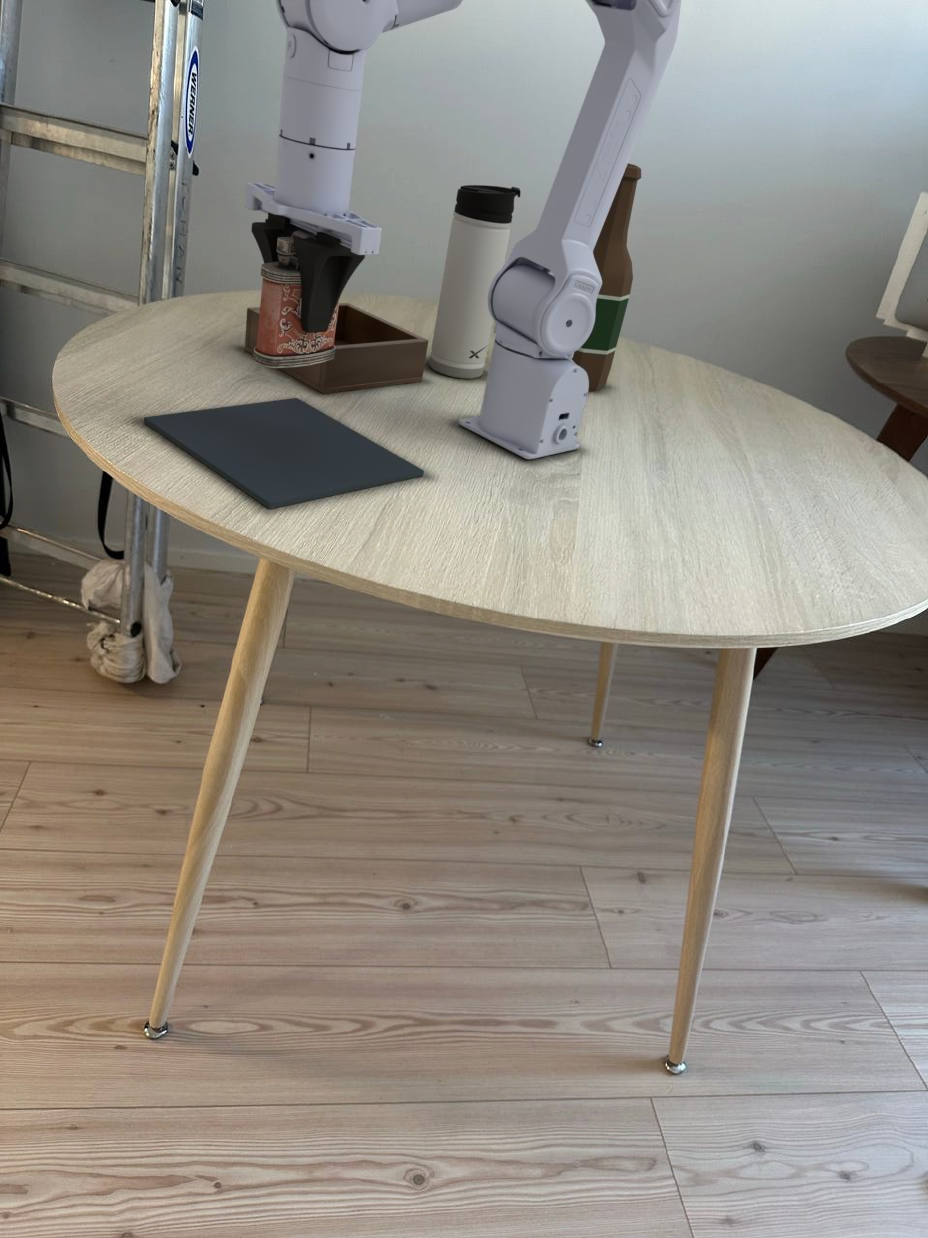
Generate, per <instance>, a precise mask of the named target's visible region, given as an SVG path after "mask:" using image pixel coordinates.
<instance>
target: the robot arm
mask: <svg viewBox="0 0 928 1238" xmlns="http://www.w3.org/2000/svg"><path fill="white" fill-rule="evenodd" d="M463 1H464V0H275V5H276V9H277V13H278V15H279V18H280V20H281V22H282V23H283V26H284V28H285V30H286V40H285V51H284V52H285V53H284V54H285V55H284V64H283V72H282V85H281V97H280V111H279V121H278V122H279V123H278V125H279V126H278V138H277V151H276V164H275V165H276V167H275V177H274V179H275V180H274V185H272V184H269V183H265V182H246V183H245V185H246V187H245V198H244V199H245V200H244V201H245V202H244V208H246V209H248V210H251V211H259V212H263V213H264V214H267V218H265V219H264V221H254V222H252V223H251V230H250V231H251V233H252V236H253V237H254V240H255V242H256V244H257V246H258V250H259V252H260V254H261V257H262V261H263V264H264V263H271V262H278V261H279V259H278V252H277V241H278V238H279V237H291V236H292V234H293V232H295V231H302V232H304V233H307V234H309V235H312V236H313V234H317V236H316V239H296V238H294V242H293V245H294V247H295V251H296V254H297V258H298V263H299V268H300V276H301V288H302V294H301V324H302V330H303V331H305V332H307V333H316V332H327V329H328V327H329V324H330V321H331V319H332V316H333V313H334V311H335V308H336V305H337V303H338V300H339V298H341V296H342V294H343V292H344V289H345V287H346V285H348V282H349V280H350V279H351V277H352V276H353V274H354V273H355V271H356V270H357V268H358V267H359V266H360V264H362V262H363V261H364V260H365V258H366V256H379V254H380V247H381V240H382V232H383V228H382V227H380V226H377V225H375V224H373V223H371V222H370V221H368V220H366V219H365V218H363V217H361V216H360V215H359V214H358V213H355V212H354V211H353V210H351V209H349V208H350V200H351V192H352V183H353V175H354V173H353V172H354V165H355V157H356V146H357V137H358V131H359V130H358V129H359V121H360V113H361V112H360V110H361V104H362V95H363V85H364V74H365V66H366V65H365V64H366V57H367V50H368V49H369V48H371V47H372V46H373V45H374V44H376V42H377V41H378V40H379V38H380V36H381V35H382V34H385V33H387V32H390V31H393V30H396V29H400V28H402V27H404V26H407V25H408V26H409V25H411V24H414V23H417V22H420V21H423V20H426V19H428V18H429V19H430V18H431V17H435V16H438V15H441V14H444V13H447V12H450V11H453V10H456V9H458V7H460V5H461V4H462V2H463ZM584 1H585V2H586V4H587V5H588V6H589V8H590V9H591V11H592V13H593V14H594V15H595V17H596V19H597V22H598V25H599V27H600V30H601V33H602V36H603V39H604V45H603V48H602V50H601V53H600V56H599V59H598V62H597V64H596V67H595V69H594V72H593V75H592V78H591V81H590V84H589V86H588V88H587V91H586V93H585V97H584V99H583V101H582V104H581V108H580V110H579V112H578V115H577V118H576V121H575V124H574V126H573V129H572V132H571V134H570V138H569V140H568V142H567V146H566V148H565V151H564V153H563V156H562V158H561V161H560V164H559V166H558V170H557V172H556V174H555V178H554V180H553V182H552V186H551V189H550V191H549V193H548V197H547V199H546V202H545V205H544V206H543V210H542V212H541V215H540V218H539V219H538V223H537V226H536V228H535V229H534V230H533V231H532V232H531V233H529V234H527V235H526V236H524V237H523V238H521V239H520V240H519V241H517V242H516V243H515V244H513V247H512V250H511V252H510V254H509V257H508V259H507V260H506V262H505V263H504V266H503V268H502V269H501V270H500V271H499V272H498V273H497V274H496V276H495V277H494V279H493V281H492V283H491V285H490V288H489V292H488V299H487V301H488V309H489V312H490V314H491V316H492V318H493V321H495V322H494V326H493V327H494V328H493V333H494V334H495V335H494V341H493V346H492V351H491V356H490V360H489V361H490V362H489V367H488V372H487V377H486V382H485V387H484V392H483V398H482V404H481V408H480V412H479V415H478V416H477V415H476V416H472V417H465V418H460V419H459V422H458V423H459V425H460V426H462V427H464V428H465V429H467V430H470V431H471V432H473V433H475V434H477V435H479V436H481V437H483V438H485V439H487V440H488V441H491V442H493V443H494V444H496V445H498V446H500V447H502V448H504V449H506V450H508V451H509V452H511V453H514V454H515V455H518V456H519V457H521V458H523V459H526V460H534V459H538V458H542V457H543V458H544V457H548V456H551V455H556V454H557V455H558V454H561V453H566V452H570V451H574V450H578V449H579V448H580V443H578V442H577V438H578V435H579V430H580V428H581V427H580V426H581V424H582V423H581V422H582V419H583V415H584V411H585V407H586V402H587V399H588V395H589V394H588V393H589V391H588V390H589V379H588V375H587V373H586V371H585V370H584V369H583V368H581V367H580V366H578V365H577V364H575V363H574V361H573V360H572V359H571V358H573V355H574V352H575V351H577V350H578V349H579V348H580V347H581V346H582V345H583V344H584V343H585V342H586V340H587V339H588V337H589V336H590V334H591V332H592V329H593V326H594V323H595V314H596V300H597V296H598V293H599V291H600V288H601V286H602V279H601V276H600V273H599V270H598V267H597V264H596V261H595V259H594V255H593V250H594V247H595V245H596V242H597V240H598V237H599V235H600V232H601V230H602V227H603V225H604V222H605V220H606V217H607V215H608V212H609V209H610V207H611V204H612V202H613V199H614V197H615V194H616V192H617V189H618V187H619V184H620V182H621V179H622V177H623V174H624V172H625V169H626V167H627V164H629V161H630V159H631V156H632V154H633V151H634V149H635V146H636V143H637V142H638V139H639V136H640V134H641V131H642V130H643V126H644V124H645V121H646V119H647V116H648V114H649V111H650V108H651V106H652V104H653V101H654V98H655V96H656V93H657V91H658V89H659V86H660V83H661V81H662V78H663V76H664V74H665V72H666V68H667V66H668V63H669V60H670V59H671V56H672V53H673V50H674V49H675V44H676V42H677V38H678V30H679V24H680V22H679V21H680V14H681V5H682V0H584ZM551 273H552V274H553V275H552V274H551ZM339 301H340V300H339Z"/></svg>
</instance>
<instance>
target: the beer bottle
mask: <svg viewBox="0 0 928 1238" xmlns="http://www.w3.org/2000/svg"><path fill="white" fill-rule="evenodd" d="M641 179H642V168H641V167H640V166H638V165H635V164H632V163H628V164H627V167H626V169H625V172H624V174H623V177H622V179H621V182H620V184H619V187H618V189H617V192H616V194H615V197H614V199H613V202H612V204H611V207H610V209H609V212H608V215H607V217H606V220H605V222H604V225H603V227H602V230H601V232H600V235H599V237H598V240H597V242H596V245H595V247H594V250H593V255H594V259H595V261H596V264H597V267H598V270H599V273H600V276H601V279H602V286H601V288H600V291H599V293H598V296H597V300H596V314H595V323H594V326H593V329H592V332H591V334H590V336H589V337H588V339H587V340H586V342H585V343H584V344H583V345H582V346H581V347H580V348H579V349H578V350H577V351H575V352H574V355H573V358H571V359H572V360H573V361H574V363H575V364H577V365H578V366H580V367H581V368H583V369H584V370H585V371H586V373H587V375H588V379H589V390H588V392H596V391H599V390H601V389H602V388H604V387H605V386H606V384H607V382H608V378H609V376H610V372H611V369H612V365H613V362H614V358H615V354H616V350H617V345H618V342H619V338H620V334H621V331H622V326H623V323H624V319H625V315H626V312H627V308H628V303H629V299H630V296H631V291H632V286H633V280H634V274H633V273H634V272H633V261H632V259H631V256H630V253H629V249H628V233H629V227H630V222H631V217H632V211H633V206H634V201H635V196H636V190H637V184H638V181H639V180H641Z"/></svg>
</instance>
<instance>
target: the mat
mask: <svg viewBox="0 0 928 1238" xmlns="http://www.w3.org/2000/svg"><path fill="white" fill-rule="evenodd" d="M143 423H144V424H146V425H147V426H148V427H150V428H151V429H153V430H154V431H155V432H156V433H158V434H160V435H161V436H163V437H164V438H165V439H167V440H169V441H170V442H171V443H173V444H174V445H176V446H178V447H179V448H180V449H182V450H183V451H185V452H186V453H187V454H189V455H190V456H191V457H193V458H195V459H196V460H198V461H199V462H201V463H202V464H204V465H205V466H206V467H207V468H209V469H211V470H212V471H213V472H215V473H216V474H218V475H219V476H221V477H222V478H224V480H227V481H228V482H230V483H231V484H232V485H234V486H235V487H237V488H238V489H239V490H241V491H242V492H244V493H245V494H247V495H249V497H251V498H253V499H254V500H255V501H256V502H258V503H260V504H261V505H263V506H264V507H266V508H267V509H268V510H271V509H276V508H280V507H285V506H289V505H294V504H299V503H303V502H307V501H308V502H309V501H314V500H316V499H322V498H327V497H331V496H335V495H341V494H345V493H351V492H355V491H359V490H364V489H369V488H373V487H378V486H382V485H387V484H392V483H396V482H401V481H406V480H411V479H415V478H418V477H423V476H424V474H425V470H424V469H422V468H420V467H419V466H417V465H415V464H413V463H411V462H410V461H408V460H406V459H404V457H401V456H399V455H398V454H395V453H394V452H392V451H390V450H389V449H387V448H386V447H384V446H382V445H381V444H378V443H377V442H375V441H373V440H372V439H370V438H368V437H366V436H365V435H363V434H361V433H359V432H358V431H355V430H354V429H352V428H350V427H349V426H347V425H346V424H344V423H341V422H340V421H338V420H336V419H334V418H333V417H331V416H329V415H328V414H326V413H324V412H322V411H320V410H319V409H317V408H315V407H313V406H312V405H310V404H309V403H307V402H305V401H303V400H301V399H299V398H298V397H293V398H285V399H276V400H270V401H261V402H254V403H253V402H252V403H245V404H238V405H237V404H236V405H230V406H229V405H228V406H222V407H213V408H205V409H198V410H190V411H181V412H175V413H166V414H165V413H164V414H158V415H150V416H143Z"/></svg>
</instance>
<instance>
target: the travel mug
mask: <svg viewBox="0 0 928 1238" xmlns="http://www.w3.org/2000/svg"><path fill="white" fill-rule="evenodd" d="M516 196H517V198H521V189H520V188H519V187H517V186H511V187H505V186H497V185H485V184H484V185H483V184H468V185H467V184H466V185H461V186H460V188H458V189H457V192H456V198H455V201H456V203H455V205H454V210H453V218H452V221H451V226H450V231H449V239H448V244H447V249H446V250H447V251H446V255H445V256H446V257H445V262H444V268H443V273H442V274H443V275H442V281H441V288H440V292H439V299H438V305H437V311H436V312H437V313H436V318H435V324H434V329H433V337H432V344H431V349H430V350H431V351H430V354H429V361H428V364H429V367H430V368H431V369H432V370H433V371H435V372H437V373H439V374H441V375H444V376H448V377H450V378H456V379H464V380H466V379H467V380H468V379H469V380H470V379H471V380H472V379H478V378H479V377H481V376H482V375H483V373H484V369H485V366H486V365H485V364H486V362H485V361H486V359H487V355H488V348H489V343H490V338H491V333H492V328H493V322H494V319H493V318H492V316H491V314H490V312H489V309H488V301H487V299H488V292H489V288H490V285H491V283H492V281H493V279H494V277H495V276H496V274H497V273H498V272H499V271H500V270H501V269H502V268H503V266H504V265H505V261H506V255H507V250H508V244H509V239H510V234H511V227H512V224H513V222H512V221H513V213H514V212H515V197H516Z"/></svg>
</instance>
